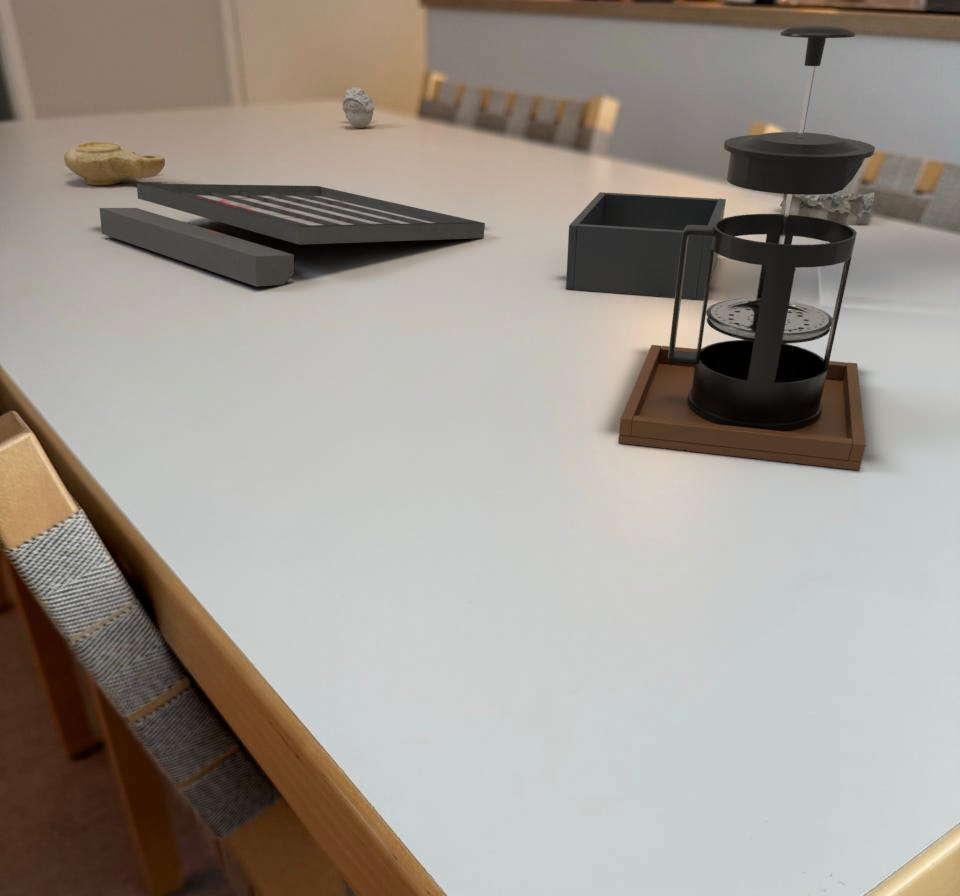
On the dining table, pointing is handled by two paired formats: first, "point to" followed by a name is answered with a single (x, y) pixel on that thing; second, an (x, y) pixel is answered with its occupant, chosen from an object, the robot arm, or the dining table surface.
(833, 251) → the french press
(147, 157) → the oil lamp
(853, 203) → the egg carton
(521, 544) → the dining table surface
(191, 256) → the dark grey wedge stand
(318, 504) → the dining table surface
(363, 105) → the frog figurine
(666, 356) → the tray
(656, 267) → the holder
